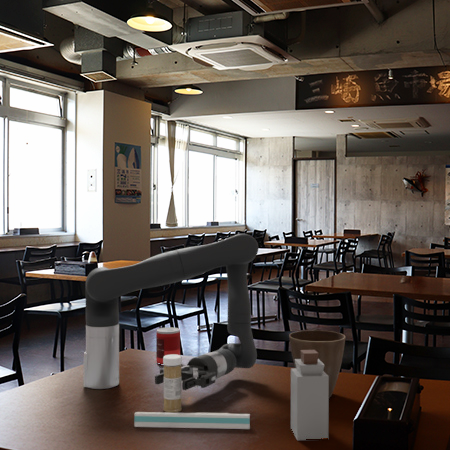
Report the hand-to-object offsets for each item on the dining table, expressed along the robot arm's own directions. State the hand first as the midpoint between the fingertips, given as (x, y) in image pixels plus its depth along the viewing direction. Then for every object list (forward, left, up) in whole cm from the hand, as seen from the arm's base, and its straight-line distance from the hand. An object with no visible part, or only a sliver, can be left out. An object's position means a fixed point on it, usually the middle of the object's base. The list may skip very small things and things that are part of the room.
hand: (169, 383), depth 131 cm
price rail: (+7, -5, -7) cm, 11 cm away
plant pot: (+38, +15, -7) cm, 41 cm away
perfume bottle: (+33, -12, -7) cm, 35 cm away
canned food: (-7, +46, -7) cm, 47 cm away
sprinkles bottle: (+1, +1, -7) cm, 7 cm away
